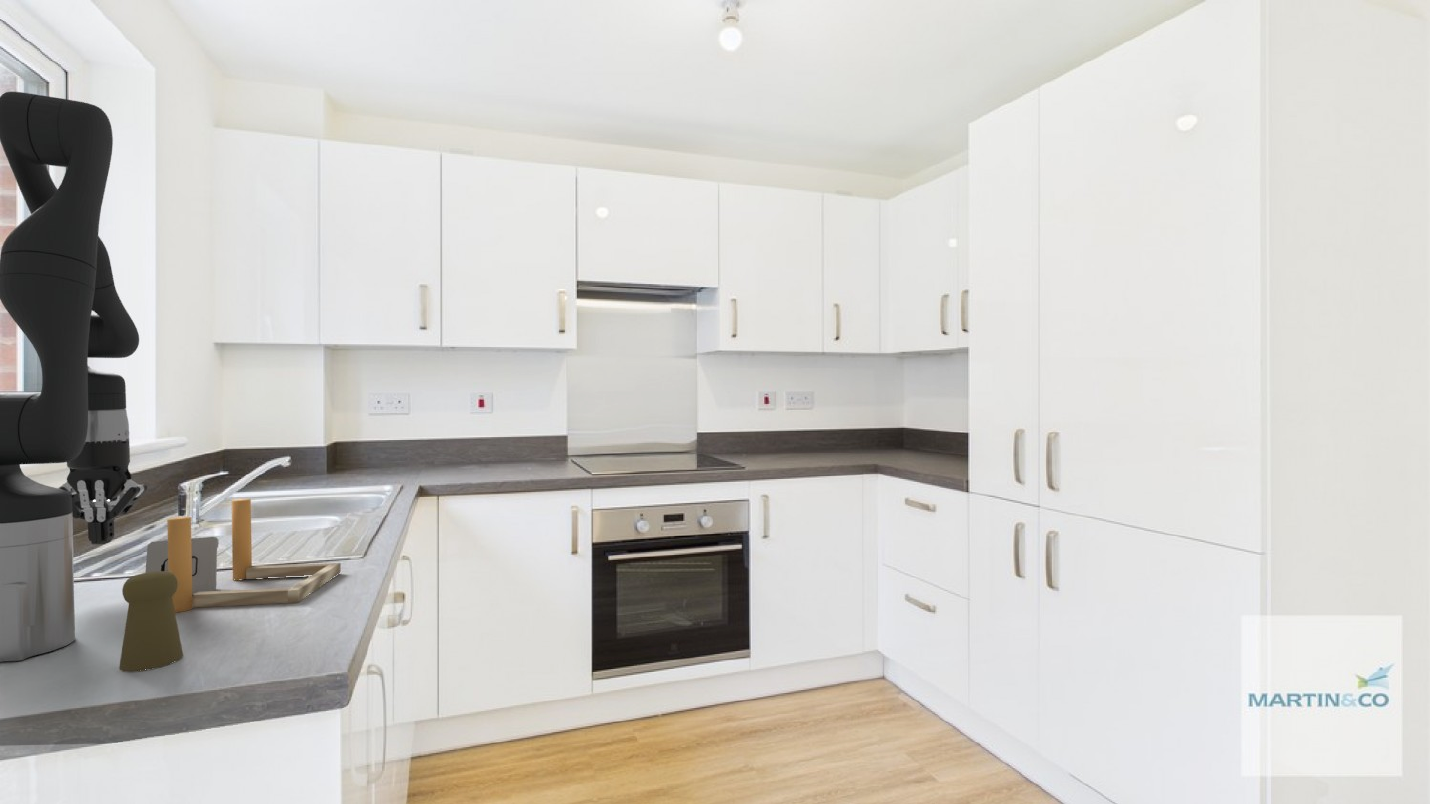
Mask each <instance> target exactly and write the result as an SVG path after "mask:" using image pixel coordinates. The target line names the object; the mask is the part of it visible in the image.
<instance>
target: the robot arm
mask: <svg viewBox="0 0 1430 804" xmlns="http://www.w3.org/2000/svg"><path fill="white" fill-rule="evenodd" d="M113 142H114V138H113V130H112V125H111V122H110V119H109V117H108V115H107V114H106V112H105V111H104V110H103V109H102V108H101V107H99V106H98V105H95V104H91V103H88V102H85V101H78V100H72V99H66V98H60V97H53V96H49V95H41V94H35V93H29V92H23V91H6V92H4V93H3V94H1V95H0V144H1V147H2V149H3V152H4V155H5V157H6V159H7V162H8V165H9V167H10V169H11V171H12V175H13V177H14V179H15V182H16V183H17V186H18V187H19V190H20V193H21V195H22V197H23V199H24V202H25V203H26V207H27V208H28V210H29V212H30V215H29V216H27V217H26V218H25V219H24V220H23V221H22V222H20V223H19V224H18V225H17V226H16V227H15V228H14V229H13V230H12V231H11V232H10V233H9V234H8V236H6V239H5V240H4V241H3V243H2V245H1V250H0V302H1V303H2V305H3V307H4V308H5V310H6V311H7V313H8V314H9V316H10V317H11V318H12V320H13V321H14V322H15V323H16V325H17V326H18V327H19V329H20V331H22V333H23V334H24V335H25V337H26V338H27V339H28V341H29V342H30V343H31V345H32V347H33V348H34V351H35V352H36V354H37V356H38V359H39V364H40V367H41V381H42V382H41V383H42V384H41V385H42V386H41V391H40V393H39V392H34V393H31V392H30V393H29V392H22V393H21V392H17V393H16V392H15V393H14V392H13V393H11V392H10V393H9V392H7V393H5V392H3V393H0V662H16V661H18V662H19V661H23V660H25V659H28V658H30V657H34V656H37V655H41V654H45V653H48V652H52V651H55V650H57V649H58V650H59V649H61V648H63V647H65V646H67V645H70V644H71V643H73V642H74V641H75V639H76V630H75V629H76V622H75V621H76V620H75V619H76V618H75V615H76V614H75V575H74V530H73V529H74V525H73V524H74V523H73V522H74V521H73V520H74V519H82V520H85V521H86V522H87V531H88V532H87V538H88V540H89V542H90V543H91V544H92V545H93V546H95V545H106V544H108V543H110V542H112V540H113V539H114V538H115V520H116V518H118V517H121V516H125V515H127V514H128V513H129V512H130V511H131V510H132V508H133V507H134V506H136V504H137V502H138V501H139V500H140V499H141V498H142V497H143V495H144V494H145V493H146V491H148V486H147V485H146V484H139V483H137V482H136V481H134V480H133V479H132V478H133V477H132V473H131V472H130V470H129V466H130V463H131V456H130V455H131V454H130V449H131V448H130V424H129V418H128V413H127V393H126V391H127V389H126V386H127V385H126V381H125V379H124V377H123V376H122V375H119V374H116V373H113V372H112V373H111V372H106V371H100V370H96V369H93V368H91V367H90V366H89V365H88V359H90V358H91V359H94V358H96V359H97V358H98V359H99V358H100V359H123V358H128V357H130V356H131V355H133V354H134V353H136V351H137V349H138V347H139V344H140V335H139V331H138V329H137V327H136V324H135V322H134V321H133V319H132V317H131V316H130V315H129V312H128V311H127V309H126V308H125V306H124V304H123V302H122V300H121V298H120V296H119V294H118V292H117V289H116V286H115V280H114V275H113V270H112V264H111V259H110V256H109V252H108V250H107V246H106V245H105V244H104V241H102V238H101V237H100V236H99V231H100V229H99V228H100V218H101V211H102V206H103V203H104V202H103V201H104V196H105V191H106V186H107V181H108V176H109V171H110V168H111V167H110V166H111V161H112V155H113V145H114V143H113ZM48 166H53V167H60V168H66V171H65V173H64V175H63V178H62V181H61V183H60V184H59V187H58V188H57V186H56V184H55V183H54V181H53V177H52V176H51V174H50V171H49V168H48ZM92 311H93V312H94V313H92ZM63 463H64V464H65V463H66V467H67V468H69V474H68V475H67V477H66V482H65V483H63V484H62V485H61V486H59V487H54V486H49V485H46V484H43V483H40V482H37V481H36V480H33V479H31V478H29V477H28V476H26V475H25V474H24V472H23V471H22V468H21V465H41V464H42V465H45V464H46V465H48V464H63ZM122 493H123V495H122V497H120V495H121V494H122ZM73 518H74V519H73Z"/></svg>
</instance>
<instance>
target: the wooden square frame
mask: <svg viewBox="0 0 1430 804" xmlns="http://www.w3.org/2000/svg"><path fill="white" fill-rule="evenodd" d="M341 564H342V563H341V562H332V563H331V562H327V563H302V564H281V565H280V564H279V565H278V564H277V565H256V566H253V565H252V566H251V567H249V568H247V569H246V579H256V578H268V577H286V576H304V575H312V576H310V577H306V578H305V579H304V580H302V581H300V582H299V583H296V585H294V586H292V587H275V588H271V587H270V588H253V589H252V588H251V589H234V590H233V589H231V590H215V591H204V592H197V593H195V594H193V596H192V603H193V608H210V607H211V608H212V607H233V606H235V607H236V606H250V605H251V606H252V605H254V606H255V605H273V604H293V603H294V604H295V603H297V604H298V603H300V602H301V601H302V599H303V600H304V599H306V598H307V597H308V596H309V595H308V594H309V593H311V594H313V593H315V592H316V591H317V590H319V589H320V588H321V587H320V586H322V585H323V584H324V583H326V582H327V581H329V580H330V579H331V578H333V577H334V576H336V575H337V574H339V573H340V572H341V569H342V568H341ZM341 573H342V572H341ZM329 582H330V581H329ZM326 584H327V583H326ZM323 586H324V585H323ZM323 586H322V587H323ZM319 587H320V588H319ZM318 588H319V589H318ZM316 589H317V590H316ZM315 590H316V591H315ZM312 592H313V593H312ZM307 595H308V596H307ZM306 596H307V597H306ZM299 601H300V602H299Z"/></svg>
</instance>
